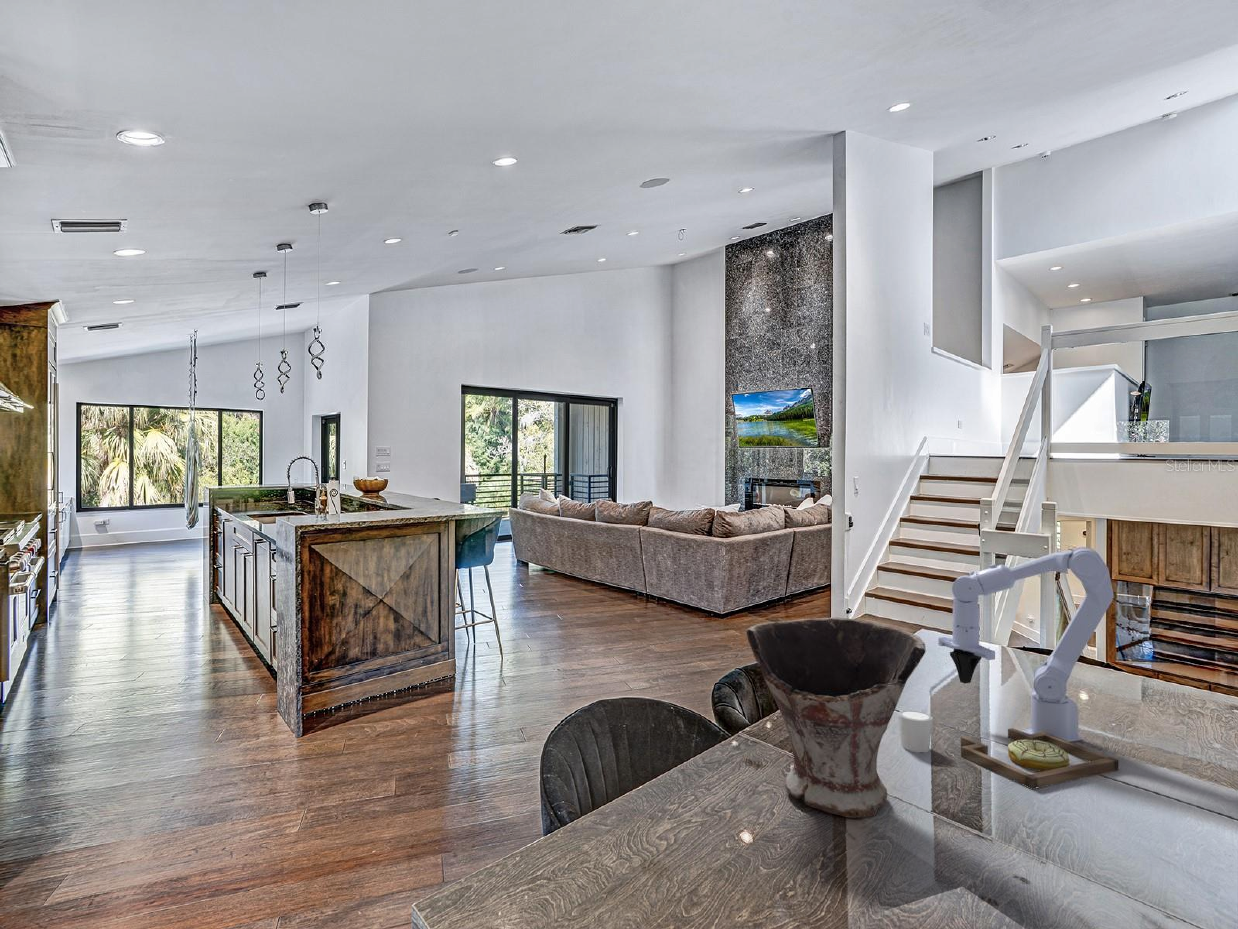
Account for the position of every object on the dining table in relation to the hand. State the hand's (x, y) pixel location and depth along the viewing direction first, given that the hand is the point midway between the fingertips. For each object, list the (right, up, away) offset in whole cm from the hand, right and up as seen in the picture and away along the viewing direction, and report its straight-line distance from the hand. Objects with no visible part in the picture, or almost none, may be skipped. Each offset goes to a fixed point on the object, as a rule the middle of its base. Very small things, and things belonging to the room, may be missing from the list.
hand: (965, 682), depth 164 cm
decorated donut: (+3, -10, -24) cm, 26 cm away
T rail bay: (+2, -9, -22) cm, 24 cm away
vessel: (-44, -8, -38) cm, 59 cm away
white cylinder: (-19, -9, -17) cm, 27 cm away
